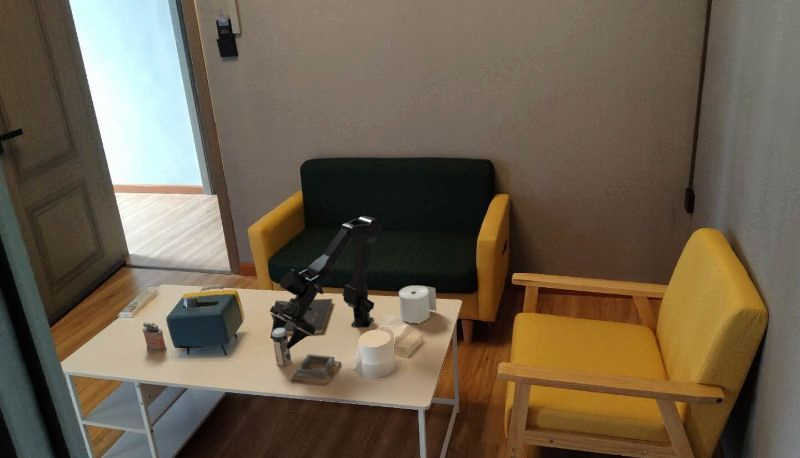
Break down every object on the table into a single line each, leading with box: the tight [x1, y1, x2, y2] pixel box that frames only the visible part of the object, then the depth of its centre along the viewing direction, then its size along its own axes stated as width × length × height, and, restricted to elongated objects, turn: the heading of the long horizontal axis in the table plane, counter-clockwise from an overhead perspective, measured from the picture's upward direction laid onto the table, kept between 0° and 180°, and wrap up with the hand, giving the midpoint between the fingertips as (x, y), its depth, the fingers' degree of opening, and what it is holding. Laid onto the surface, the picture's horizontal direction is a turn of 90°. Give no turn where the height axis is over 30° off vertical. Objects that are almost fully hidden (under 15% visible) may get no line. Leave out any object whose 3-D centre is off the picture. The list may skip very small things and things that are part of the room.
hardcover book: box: [283, 298, 333, 335], centre depth 229 cm, size 16×23×2 cm
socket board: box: [290, 353, 342, 387], centre depth 194 cm, size 12×12×4 cm
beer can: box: [271, 327, 292, 367], centre depth 200 cm, size 5×5×12 cm
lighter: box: [141, 322, 167, 353], centre depth 214 cm, size 8×3×10 cm, turn 65°
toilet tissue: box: [398, 285, 437, 324], centre depth 223 cm, size 11×12×10 cm
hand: (279, 343), depth 199 cm, fingers open, 9 cm apart
